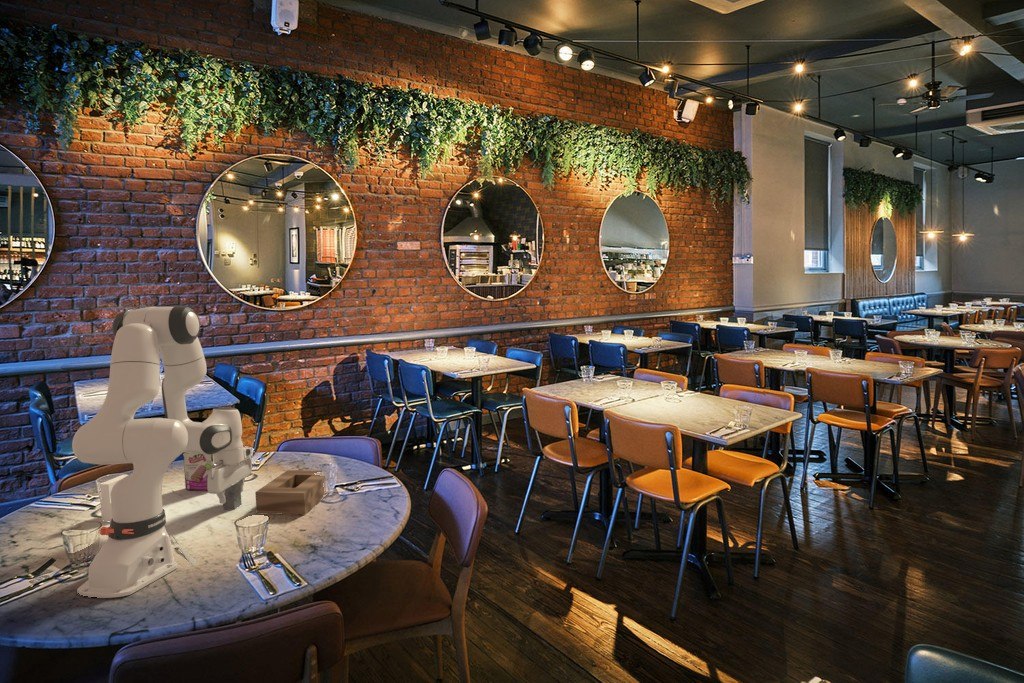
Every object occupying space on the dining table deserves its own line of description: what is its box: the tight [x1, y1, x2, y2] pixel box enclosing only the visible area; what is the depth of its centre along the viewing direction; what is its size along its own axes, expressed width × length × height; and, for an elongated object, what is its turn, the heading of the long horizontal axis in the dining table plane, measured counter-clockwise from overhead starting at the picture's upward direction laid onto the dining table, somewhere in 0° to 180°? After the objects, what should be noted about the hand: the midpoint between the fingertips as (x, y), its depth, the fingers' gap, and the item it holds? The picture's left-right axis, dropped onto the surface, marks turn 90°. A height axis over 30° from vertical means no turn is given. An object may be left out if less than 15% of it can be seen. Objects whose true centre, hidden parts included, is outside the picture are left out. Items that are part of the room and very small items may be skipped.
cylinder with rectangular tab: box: [99, 474, 129, 522], centre depth 195 cm, size 9×9×12 cm
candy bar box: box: [182, 453, 215, 491], centre depth 219 cm, size 11×5×16 cm, turn 84°
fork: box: [168, 533, 198, 565], centre depth 169 cm, size 3×24×2 cm, turn 46°
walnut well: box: [255, 469, 325, 515], centre depth 205 cm, size 22×16×7 cm
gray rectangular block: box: [222, 481, 242, 510], centre depth 201 cm, size 4×4×8 cm
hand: (231, 497), depth 201 cm, fingers open, 8 cm apart
